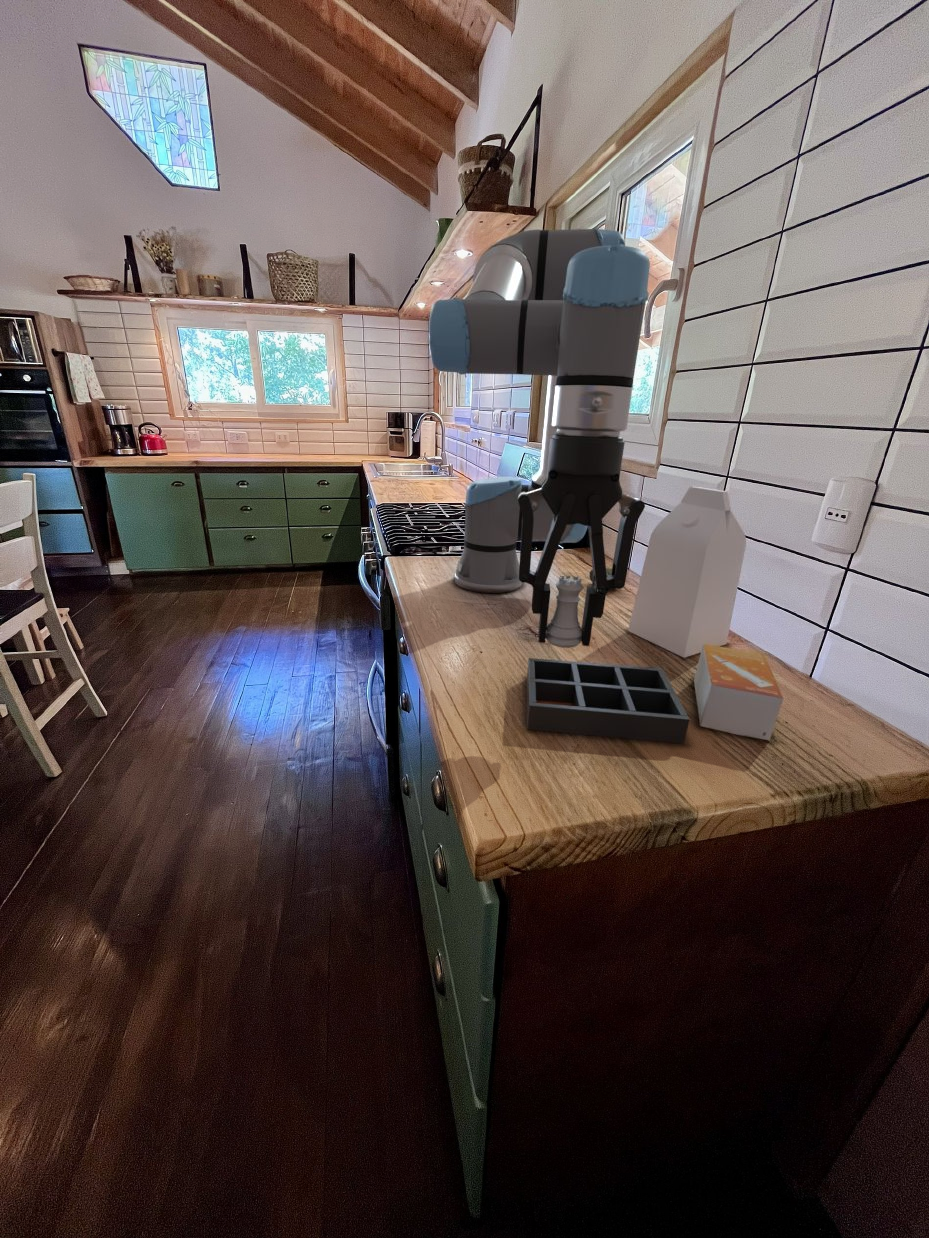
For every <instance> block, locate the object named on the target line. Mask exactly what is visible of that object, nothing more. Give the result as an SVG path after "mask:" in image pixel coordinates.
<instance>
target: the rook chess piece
mask: <svg viewBox="0 0 929 1238" xmlns="http://www.w3.org/2000/svg"><path fill="white" fill-rule="evenodd" d="M558 577H559V578H558V581H557V582H556V583H555V584H554V585H555V588H556V589H557V591H558V592H557V594H556V596H555V599H556V606H555V610H554V614H553V616H552V618H551V619H550V622H549V623H547V629H546V639H545V641H547V643H549V644H550V645H552V646H554V647H556V648H561V649H571V648H575V647H577V646H578V645H580V644H582V638H581V635H582V629H581V628H582V626H581V623H580V621H579V617H578V615H579V614H578V613H579V610H578V608H579V607H578V606H579V602H580V601H581V598H580V593H581V592H582V591H583V590H584V588H585V586H584V585H583V583H582V577H579V576H578V575H573V578H571V574H565V575H564V574H562V575H560V576H558Z"/></svg>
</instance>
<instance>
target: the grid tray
mask: <svg viewBox="0 0 929 1238" xmlns="http://www.w3.org/2000/svg"><path fill="white" fill-rule="evenodd" d="M527 661H528V662H527V672H526V717H527V718H526V721H527V723H526V724H527V725H526V726H527V727H526V728H527V730H528V731H540V732H550V733H561V734H571V735H572V734H573V735H583V736H594V737H605V738H615V739H625V740H637V741H648V742H659V743H670V744H678V745H679V744H680V745H684V744H685V741H686V736H687V732H688V728H689V725H690V716H689V715H688V714H687V711H686V710H685V708H684V706H683V704H682V703H681V701H680V699H679V697H678V695H677V693H676V691H675V690H674V688H673V686H672V684H671V682H670V681H669V678H668V676H667V675H666V673H665V671H664V669H663V668H660V667H659V668H658V667H647V666H633V665H622V664H611V663H610V664H609V663H597V662H586V661H573V660H572V661H571V660H559V659H547V658H533V657H528V660H527Z"/></svg>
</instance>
